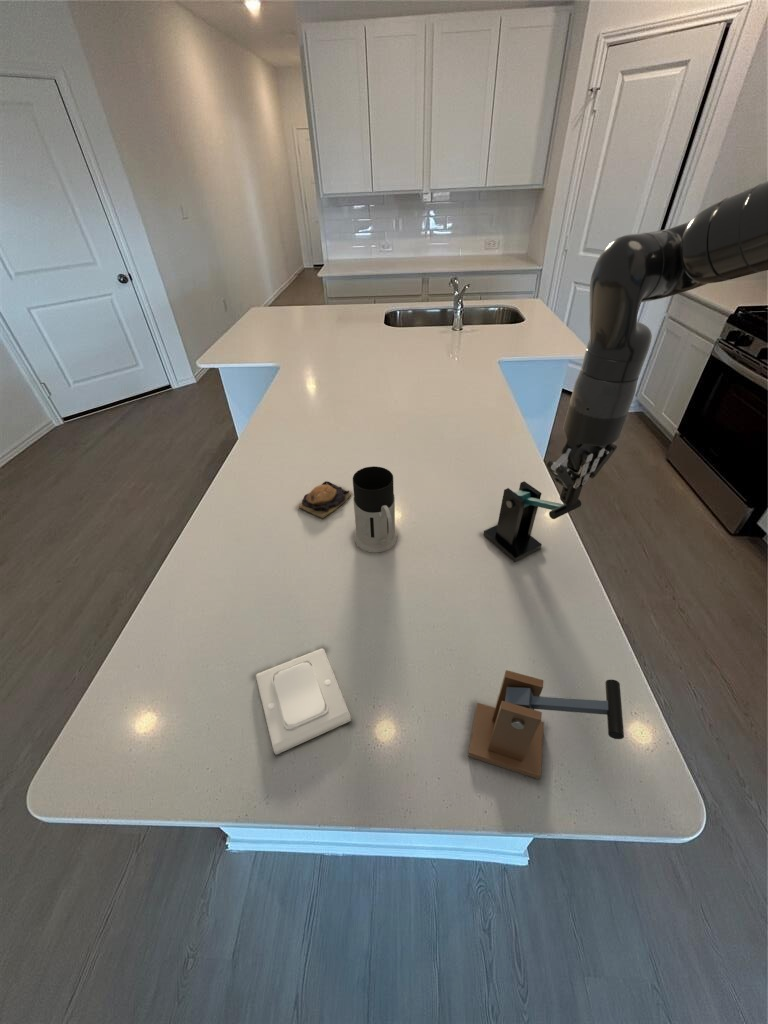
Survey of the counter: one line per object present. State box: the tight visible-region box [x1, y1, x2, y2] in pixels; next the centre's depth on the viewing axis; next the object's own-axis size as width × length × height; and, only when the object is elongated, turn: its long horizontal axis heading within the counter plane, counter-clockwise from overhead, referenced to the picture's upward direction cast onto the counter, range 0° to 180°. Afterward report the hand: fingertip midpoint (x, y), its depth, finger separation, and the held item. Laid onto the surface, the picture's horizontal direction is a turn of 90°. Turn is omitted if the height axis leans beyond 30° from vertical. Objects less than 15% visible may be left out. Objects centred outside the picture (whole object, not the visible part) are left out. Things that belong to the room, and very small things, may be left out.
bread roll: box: [298, 480, 352, 519], centre depth 98 cm, size 11×8×4 cm
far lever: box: [513, 489, 582, 520], centre depth 77 cm, size 12×6×2 cm, turn 31°
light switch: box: [255, 648, 352, 755], centre depth 63 cm, size 11×4×13 cm
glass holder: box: [352, 466, 398, 554], centre depth 83 cm, size 9×14×15 cm, turn 18°
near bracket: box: [467, 669, 544, 780], centre depth 55 cm, size 9×7×13 cm
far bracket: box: [482, 481, 543, 563], centre depth 84 cm, size 9×7×13 cm
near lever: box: [505, 679, 625, 740], centre depth 50 cm, size 12×6×2 cm, turn 71°
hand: (568, 501), depth 71 cm, fingers closed
